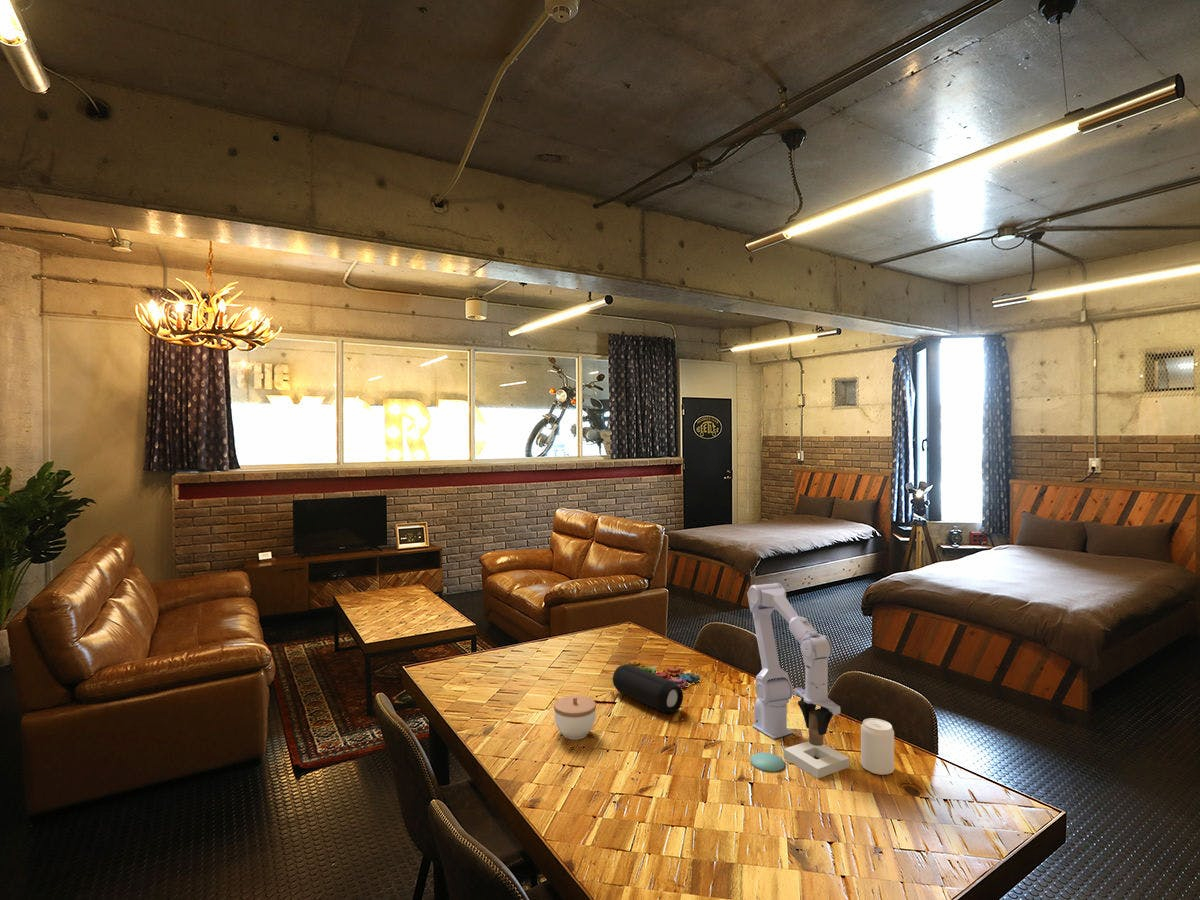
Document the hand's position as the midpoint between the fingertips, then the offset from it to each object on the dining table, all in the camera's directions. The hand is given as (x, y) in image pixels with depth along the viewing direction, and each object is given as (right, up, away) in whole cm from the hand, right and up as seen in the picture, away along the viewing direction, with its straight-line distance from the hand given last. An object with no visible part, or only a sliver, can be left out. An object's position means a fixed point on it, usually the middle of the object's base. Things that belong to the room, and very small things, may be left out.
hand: (816, 730), depth 168 cm
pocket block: (0, -9, 0) cm, 9 cm away
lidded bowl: (-67, -9, +17) cm, 69 cm away
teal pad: (-13, -9, 0) cm, 16 cm away
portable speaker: (-43, -9, +39) cm, 59 cm away
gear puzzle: (-37, -9, +64) cm, 74 cm away
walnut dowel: (0, -3, 0) cm, 3 cm away
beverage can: (+15, -9, -3) cm, 18 cm away
